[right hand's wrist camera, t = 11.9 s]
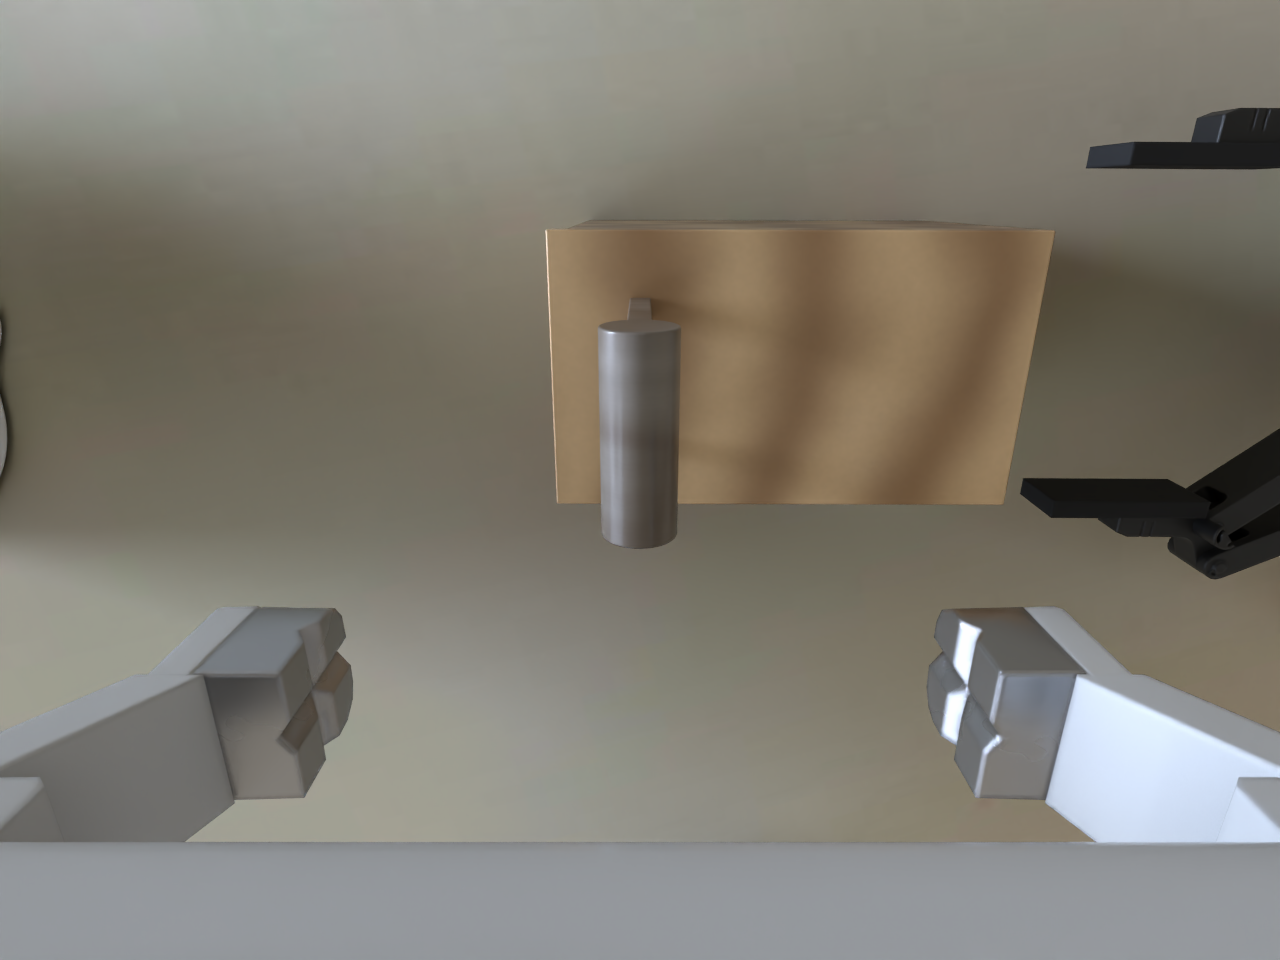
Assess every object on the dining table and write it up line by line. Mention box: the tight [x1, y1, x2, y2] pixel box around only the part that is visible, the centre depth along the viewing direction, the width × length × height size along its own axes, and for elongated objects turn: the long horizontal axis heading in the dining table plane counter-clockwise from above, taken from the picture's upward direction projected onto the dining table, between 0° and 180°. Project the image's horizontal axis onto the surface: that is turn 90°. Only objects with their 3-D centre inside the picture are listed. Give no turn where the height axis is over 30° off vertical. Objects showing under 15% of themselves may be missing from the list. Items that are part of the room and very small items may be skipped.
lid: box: [546, 229, 1055, 549], centre depth 22 cm, size 16×10×9 cm, turn 90°
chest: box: [568, 220, 1039, 230], centre depth 31 cm, size 16×10×11 cm, turn 90°
